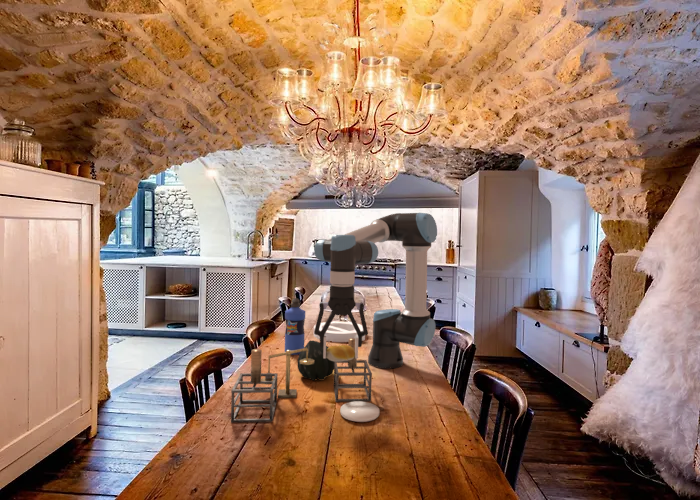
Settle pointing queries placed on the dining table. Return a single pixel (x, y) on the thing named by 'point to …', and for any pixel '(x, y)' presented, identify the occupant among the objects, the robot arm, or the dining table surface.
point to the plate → (359, 411)
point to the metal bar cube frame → (352, 365)
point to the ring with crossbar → (340, 331)
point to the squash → (315, 362)
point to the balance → (288, 372)
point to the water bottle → (294, 327)
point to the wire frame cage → (254, 389)
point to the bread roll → (340, 353)
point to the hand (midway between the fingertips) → (340, 357)
